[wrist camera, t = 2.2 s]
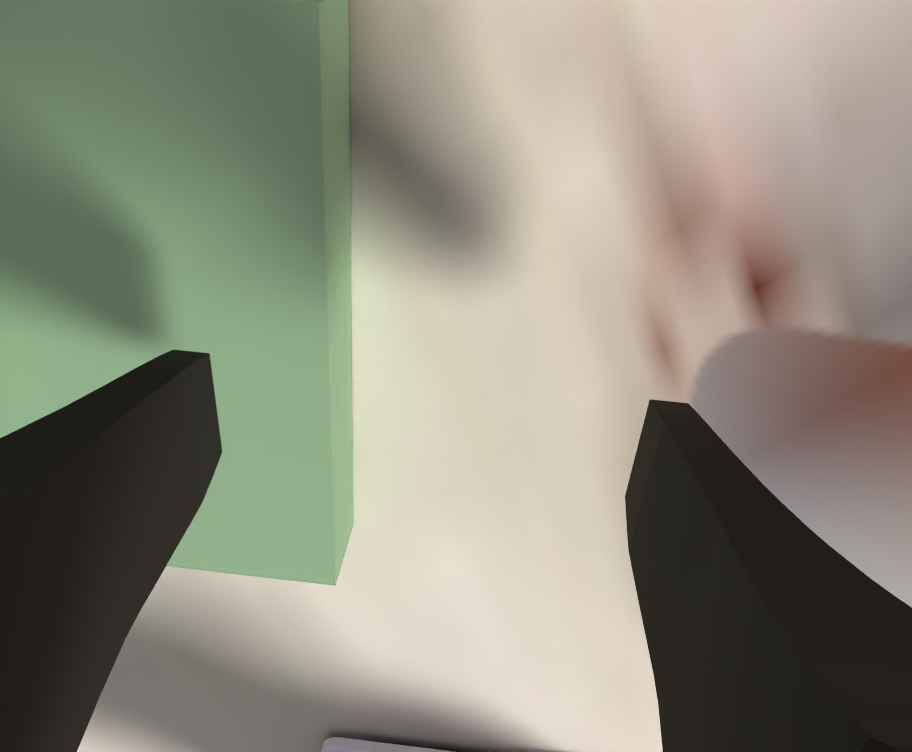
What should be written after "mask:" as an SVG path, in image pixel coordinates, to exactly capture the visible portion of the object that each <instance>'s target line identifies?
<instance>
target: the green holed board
mask: <svg viewBox="0 0 912 752" xmlns="http://www.w3.org/2000/svg"><path fill="white" fill-rule="evenodd" d="M171 350H183V351H192V352H202V353H210V361H211V369H212V376H213V384H214V391H215V399H216V407H217V414H218V422H219V430H220V437H221V445H222V454H221V457H220V460H219V462H218V465H217V467H216V470H215V473H214V475H213V478H212V481H211V483H210V485H209V488H208V490H207V493H206V495H205V497H204V500H203V502H202V504H201V506H200V508H199V509H198V511H197V513H196V515H195V517H194V518H193V520H192V522H191V524H190V525H189V527H188V529H187V531H186V532H185V534H184V536H183V538H182V539H181V541H180V543H179V545H178V546H177V548H176V550H175V552H174V553H173V555H172V557H171V558H170V560H169V562H168V564H167V565H166V566H171V567H180V568H188V569H197V570H206V571H214V572H223V573H231V574H240V575H249V576H257V577H266V578H274V579H283V580H292V581H300V582H309V583H317V584H326V585H336V582H337V578H338V575H339V571H340V568H341V565H342V561H343V558H344V554H345V551H346V548H347V544H348V541H349V537H350V534H351V531H352V527H353V441H352V330H351V220H350V109H349V0H0V438H1V437H3V436H6V435H8V434H10V433H12V432H14V431H16V430H18V429H20V428H22V427H24V426H26V425H28V424H30V423H32V422H34V421H36V420H38V419H40V418H42V417H44V416H46V415H48V414H50V413H52V412H54V411H57V410H59V409H61V408H63V407H65V406H67V405H69V404H70V403H72V402H74V401H76V400H78V399H80V398H82V397H83V396H85V395H87V394H89V393H91V392H93V391H95V390H96V389H98V388H100V387H102V386H104V385H106V384H107V383H109V382H111V381H113V380H115V379H117V378H118V377H120V376H122V375H124V374H126V373H128V372H129V371H131V370H133V369H135V368H137V367H139V366H141V365H142V364H144V363H146V362H148V361H150V360H152V359H154V358H156V357H158V356H160V355H162V354H164V353H167V352H169V351H171Z"/></svg>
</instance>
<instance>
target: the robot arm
mask: <svg viewBox="0 0 912 752" xmlns="http://www.w3.org/2000/svg"><path fill="white" fill-rule="evenodd" d="M221 454H222V445H221V437H220V430H219V422H218V414H217V407H216V399H215V391H214V384H213V376H212V369H211V361H210V353H202V352H192V351H183V350H171V351H169V352H167V353H164V354H162V355H160V356H158V357H156V358H154V359H152V360H150V361H148V362H146V363H144V364H142V365H141V366H139V367H137V368H135V369H133V370H131V371H129V372H128V373H126V374H124V375H122V376H120V377H118V378H117V379H115V380H113V381H111V382H109V383H107V384H106V385H104V386H102V387H100V388H98V389H96V390H95V391H93V392H91V393H89V394H87V395H85V396H83V397H82V398H80V399H78V400H76V401H74V402H72V403H70V404H69V405H67V406H65V407H63V408H61V409H59V410H57V411H54V412H52V413H50V414H48V415H46V416H44V417H42V418H40V419H38V420H36V421H34V422H32V423H30V424H28V425H26V426H24V427H22V428H20V429H18V430H16V431H14V432H12V433H10V434H8V435H6V436H3V437H1V438H0V752H77V750H78V747H79V745H80V742H81V740H82V738H83V735H84V733H85V730H86V728H87V726H88V723H89V721H90V718H91V716H92V713H93V711H94V709H95V706H96V704H97V701H98V699H99V697H100V694H101V692H102V690H103V688H104V685H105V683H106V681H107V679H108V676H109V674H110V672H111V670H112V667H113V665H114V663H115V661H116V658H117V656H118V654H119V652H120V649H121V647H122V645H123V643H124V640H125V638H126V636H127V634H128V633H129V631H130V629H131V627H132V625H133V623H134V621H135V619H136V617H137V615H138V613H139V612H140V610H141V608H142V606H143V605H144V603H145V601H146V600H147V598H148V596H149V594H150V593H151V591H152V589H153V588H154V586H155V584H156V582H157V581H158V579H159V577H160V576H161V574H162V572H163V570H164V569H165V567H166V565H167V564H168V562H169V560H170V558H171V557H172V555H173V553H174V552H175V550H176V548H177V546H178V545H179V543H180V541H181V539H182V538H183V536H184V534H185V532H186V531H187V529H188V527H189V525H190V524H191V522H192V520H193V518H194V517H195V515H196V513H197V511H198V509H199V508H200V506H201V504H202V502H203V500H204V497H205V495H206V493H207V490H208V488H209V485H210V483H211V481H212V478H213V475H214V473H215V470H216V467H217V465H218V462H219V460H220V457H221ZM625 502H626V520H627V535H628V548H629V555H630V560H631V565H632V570H633V575H634V580H635V585H636V590H637V595H638V600H639V605H640V610H641V615H642V620H643V624H644V629H645V634H646V639H647V644H648V649H649V654H650V659H651V663H652V668H653V673H654V679H655V685H656V692H657V698H658V705H659V715H660V726H661V736H662V746H663V752H912V608H911V607H910V606H908V605H907V604H905V603H904V602H902V601H901V600H900V599H898V598H897V597H895V596H894V595H892V594H891V593H890V592H888V591H887V590H885V589H884V588H883V587H881V586H880V585H879V584H877V583H876V582H875V581H873V580H872V579H870V578H869V577H868V576H866V575H865V574H864V573H863V572H861V571H860V570H859V569H858V568H856V567H855V566H854V565H853V564H851V563H850V562H849V561H847V560H846V559H845V558H844V557H843V556H841V555H840V554H839V553H838V552H836V551H835V550H834V549H833V548H831V547H830V546H829V545H828V544H827V543H825V542H824V541H823V540H822V539H821V538H820V537H818V536H817V535H816V534H815V533H814V532H813V531H812V530H810V529H809V528H808V527H807V526H806V525H805V524H804V523H803V522H802V521H801V520H800V519H799V518H797V517H796V516H795V515H794V514H793V513H792V512H791V511H790V510H789V509H788V508H787V507H786V506H785V505H783V504H782V503H781V502H780V501H779V500H778V499H777V498H776V497H775V496H774V495H773V494H772V493H771V492H770V491H769V490H768V489H767V488H766V487H765V486H764V485H763V484H762V483H761V482H760V481H759V480H758V479H757V478H756V477H755V476H754V474H752V472H751V471H750V470H749V469H748V468H747V467H746V466H745V465H744V464H743V463H742V462H741V461H740V460H739V459H738V457H737V456H736V455H735V454H734V453H733V452H732V451H731V450H730V449H729V448H728V447H727V445H726V444H725V443H724V442H723V441H722V440H721V439H720V438H719V437H718V436H717V434H716V433H715V432H714V431H713V430H712V429H711V428H710V426H709V425H708V424H707V423H706V422H705V421H704V420H703V419H702V418H701V416H699V414H698V413H697V412H696V411H695V410H694V409H693V408H692V407H691V406H690V405H689V404H688V403H679V402H669V401H660V400H650V401H649V405H648V409H647V413H646V416H645V420H644V424H643V428H642V432H641V436H640V440H639V444H638V448H637V452H636V456H635V460H634V464H633V467H632V471H631V475H630V479H629V483H628V487H627V491H626V495H625ZM321 752H454V751H446V750H438V749H430V748H422V747H414V746H406V745H398V744H390V743H382V742H374V741H366V740H358V739H350V738H342V737H331V738H328V739H326V740H325V741H324V742H323V746H322V750H321Z"/></svg>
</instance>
